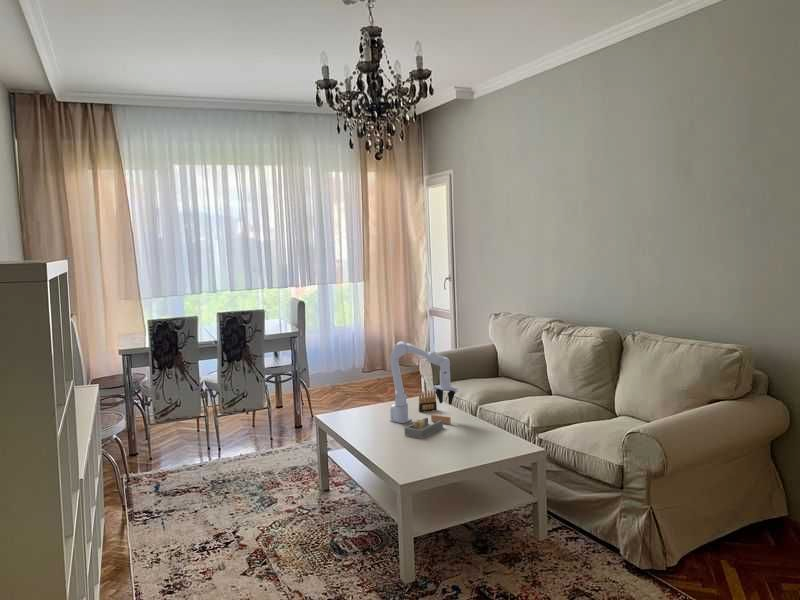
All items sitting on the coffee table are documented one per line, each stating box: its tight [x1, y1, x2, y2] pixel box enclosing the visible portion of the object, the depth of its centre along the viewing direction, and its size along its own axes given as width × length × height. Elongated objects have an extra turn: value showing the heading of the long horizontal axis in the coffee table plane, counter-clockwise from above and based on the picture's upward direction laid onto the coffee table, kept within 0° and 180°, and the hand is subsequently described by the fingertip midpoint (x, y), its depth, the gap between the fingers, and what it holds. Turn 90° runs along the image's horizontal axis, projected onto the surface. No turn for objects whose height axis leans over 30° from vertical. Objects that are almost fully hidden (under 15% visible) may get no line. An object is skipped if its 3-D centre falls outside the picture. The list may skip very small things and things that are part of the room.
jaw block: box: [413, 419, 425, 430], centre depth 319 cm, size 4×4×6 cm
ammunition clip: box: [418, 389, 438, 413], centre depth 360 cm, size 11×2×12 cm, turn 106°
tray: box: [404, 417, 444, 439], centre depth 322 cm, size 10×21×4 cm, turn 145°
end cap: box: [430, 414, 452, 425], centre depth 336 cm, size 12×1×4 cm, turn 55°
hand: (445, 403), depth 340 cm, fingers open, 5 cm apart
